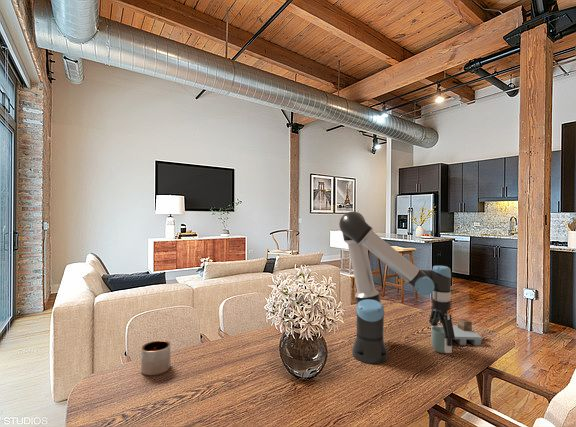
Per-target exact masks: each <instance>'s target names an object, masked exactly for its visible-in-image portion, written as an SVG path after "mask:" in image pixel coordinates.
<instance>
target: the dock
mask: <svg viewBox="0 0 576 427" xmlns="http://www.w3.org/2000/svg"><path fill="white" fill-rule="evenodd" d="M437 326H438V327H443V325H437ZM453 330H454V335H455V339H452V341H454V342H456V343H457V344H458V345H459V346H467V341H468V342H469V343H471V344H472V345H473V346H482V340H483V337H482V336H481V335H480V334H478V333H477V332H476V331H474V330H472V331H463V330H461V329H459V328H458V325H453Z"/></svg>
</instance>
